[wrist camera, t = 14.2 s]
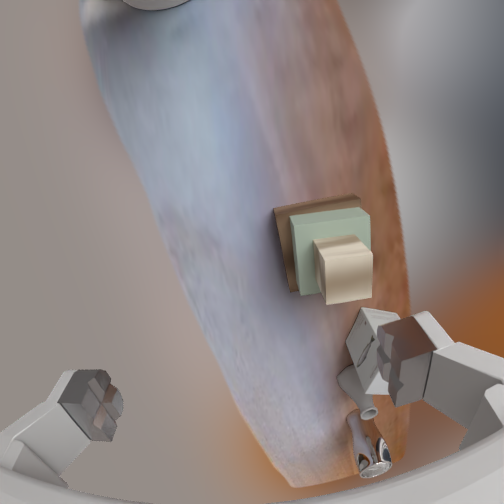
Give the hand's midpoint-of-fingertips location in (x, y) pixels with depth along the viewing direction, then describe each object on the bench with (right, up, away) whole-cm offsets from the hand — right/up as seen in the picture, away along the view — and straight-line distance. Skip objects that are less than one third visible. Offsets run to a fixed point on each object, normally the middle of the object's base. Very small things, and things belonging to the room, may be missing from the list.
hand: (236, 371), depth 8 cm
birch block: (+10, +3, +28) cm, 30 cm away
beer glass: (+24, -32, +50) cm, 64 cm away
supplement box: (+20, -9, +41) cm, 47 cm away
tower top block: (+10, +4, +31) cm, 33 cm away
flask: (+20, -20, +45) cm, 53 cm away
